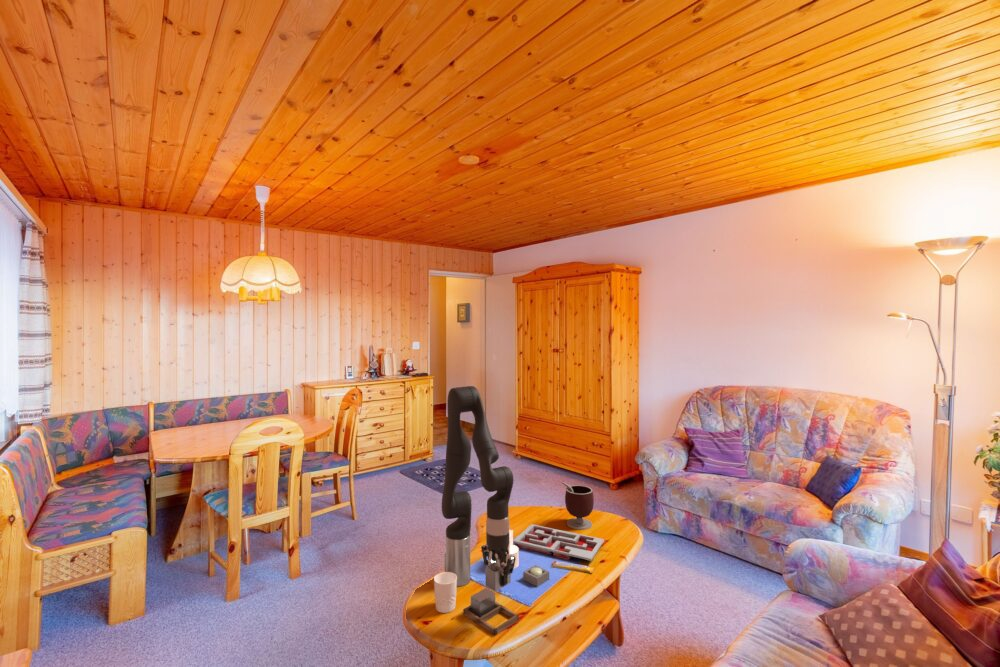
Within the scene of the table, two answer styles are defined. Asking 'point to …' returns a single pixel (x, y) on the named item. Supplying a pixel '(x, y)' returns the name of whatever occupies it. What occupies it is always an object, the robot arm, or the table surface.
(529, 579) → the button housing
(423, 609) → the table surface
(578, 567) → the candy bar
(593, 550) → the maze game
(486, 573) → the block
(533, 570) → the button
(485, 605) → the seated billet
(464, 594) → the table surface
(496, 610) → the frame
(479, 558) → the table surface
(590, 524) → the mate gourd
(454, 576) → the white cup
